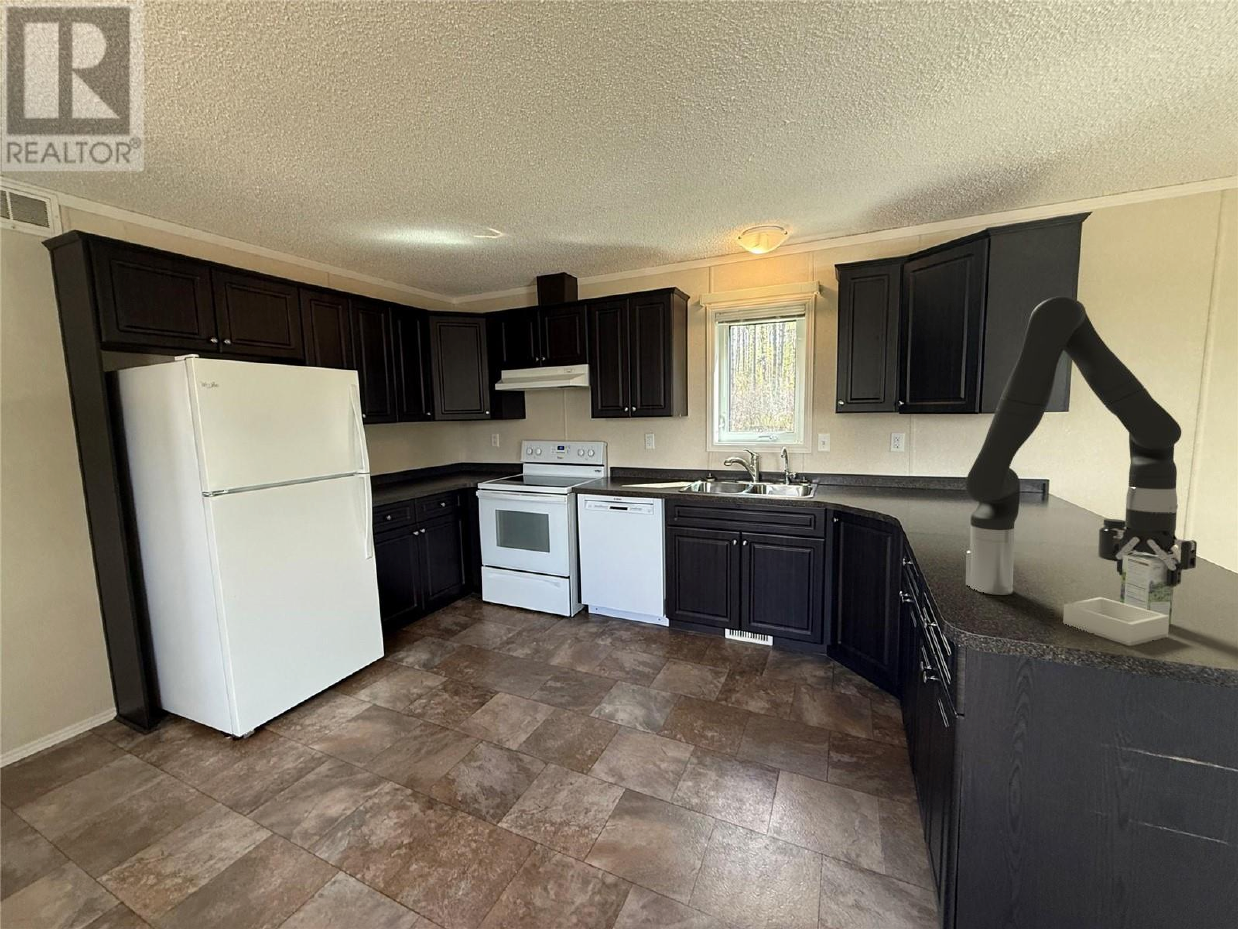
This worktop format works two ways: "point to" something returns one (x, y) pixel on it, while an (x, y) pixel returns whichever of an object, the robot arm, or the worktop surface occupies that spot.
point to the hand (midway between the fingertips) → (1147, 580)
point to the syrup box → (1146, 583)
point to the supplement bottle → (1103, 537)
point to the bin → (1116, 621)
